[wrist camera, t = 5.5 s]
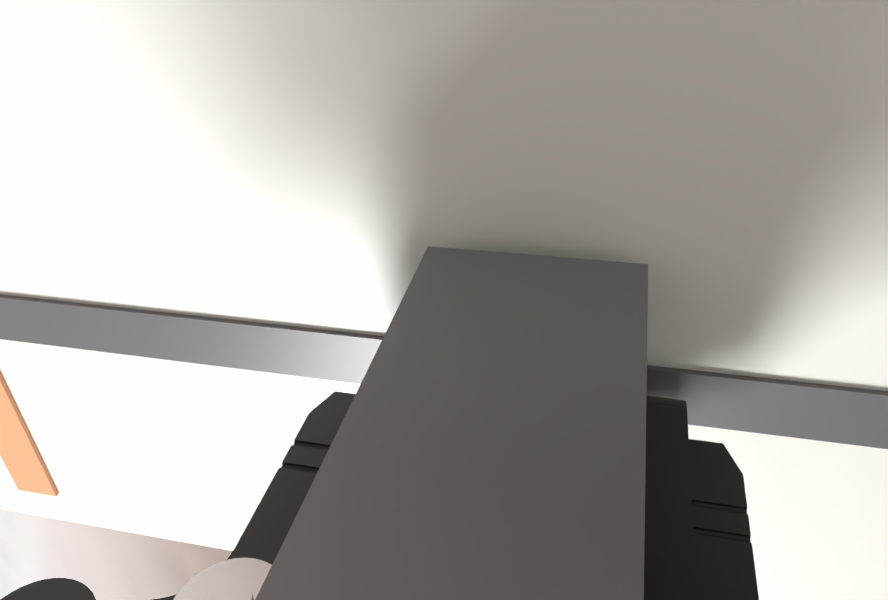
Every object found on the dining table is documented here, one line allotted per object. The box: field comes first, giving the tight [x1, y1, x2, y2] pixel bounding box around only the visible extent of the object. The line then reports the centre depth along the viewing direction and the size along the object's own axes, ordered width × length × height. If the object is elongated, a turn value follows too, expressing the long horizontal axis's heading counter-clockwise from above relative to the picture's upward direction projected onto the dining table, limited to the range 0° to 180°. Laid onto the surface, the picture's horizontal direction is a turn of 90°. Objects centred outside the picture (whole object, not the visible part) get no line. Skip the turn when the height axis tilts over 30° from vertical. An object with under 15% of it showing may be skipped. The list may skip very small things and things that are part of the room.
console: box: [0, 0, 888, 600], centre depth 14 cm, size 30×12×3 cm, turn 93°
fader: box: [255, 246, 648, 600], centre depth 9 cm, size 3×5×6 cm, turn 3°
